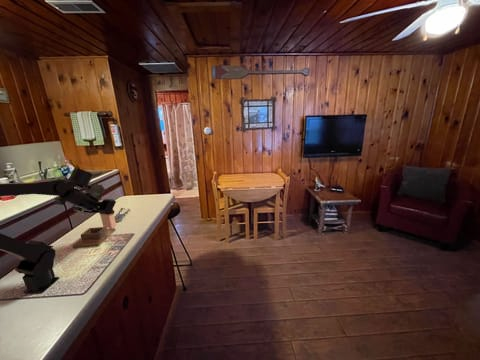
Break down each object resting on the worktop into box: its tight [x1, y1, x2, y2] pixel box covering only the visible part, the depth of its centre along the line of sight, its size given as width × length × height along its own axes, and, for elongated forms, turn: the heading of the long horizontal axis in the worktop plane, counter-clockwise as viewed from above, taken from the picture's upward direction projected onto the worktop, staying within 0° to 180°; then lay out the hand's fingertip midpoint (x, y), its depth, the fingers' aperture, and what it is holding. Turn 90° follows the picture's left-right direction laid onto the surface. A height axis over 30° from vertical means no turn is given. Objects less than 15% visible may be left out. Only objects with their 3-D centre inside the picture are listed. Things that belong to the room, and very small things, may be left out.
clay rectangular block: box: [98, 199, 117, 229], centre depth 91 cm, size 2×5×12 cm, turn 74°
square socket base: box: [72, 226, 116, 249], centre depth 95 cm, size 14×11×4 cm
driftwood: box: [114, 207, 130, 223], centre depth 120 cm, size 21×7×2 cm, turn 12°
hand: (109, 212), depth 92 cm, fingers closed on clay rectangular block, 5 cm apart
